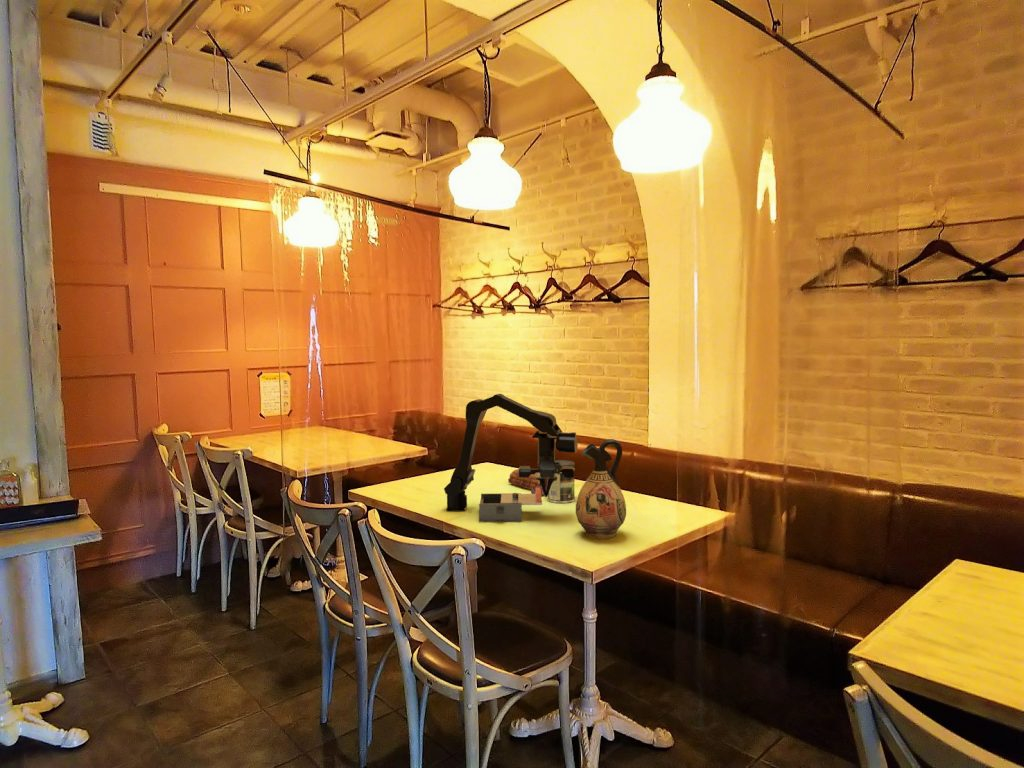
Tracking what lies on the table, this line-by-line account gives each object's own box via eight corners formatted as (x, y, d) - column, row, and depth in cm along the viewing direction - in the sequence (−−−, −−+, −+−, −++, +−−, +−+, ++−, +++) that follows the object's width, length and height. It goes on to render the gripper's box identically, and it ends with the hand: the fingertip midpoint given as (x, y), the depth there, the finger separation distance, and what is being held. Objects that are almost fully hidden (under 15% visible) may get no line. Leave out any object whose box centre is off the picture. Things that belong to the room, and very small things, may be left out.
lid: (500, 505, 212) (500, 495, 212) (501, 496, 224) (501, 486, 223) (542, 505, 212) (542, 494, 212) (540, 496, 224) (540, 486, 223)
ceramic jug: (576, 542, 190) (577, 442, 188) (574, 527, 205) (574, 434, 203) (634, 543, 189) (635, 442, 187) (627, 527, 204) (628, 434, 202)
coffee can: (576, 496, 243) (576, 460, 242) (573, 504, 233) (573, 465, 232) (549, 495, 245) (549, 459, 244) (545, 502, 235) (545, 464, 234)
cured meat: (537, 499, 241) (537, 481, 241) (499, 486, 261) (499, 470, 261) (573, 492, 252) (573, 475, 251) (534, 481, 272) (534, 465, 271)
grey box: (478, 524, 209) (478, 506, 208) (481, 508, 228) (481, 491, 227) (521, 523, 209) (521, 505, 208) (521, 508, 228) (521, 491, 227)
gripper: (519, 455, 208) (518, 502, 210) (576, 456, 208) (575, 503, 210) (518, 449, 220) (518, 494, 221) (573, 449, 220) (572, 494, 221)
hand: (546, 496), depth 218 cm, fingers closed
